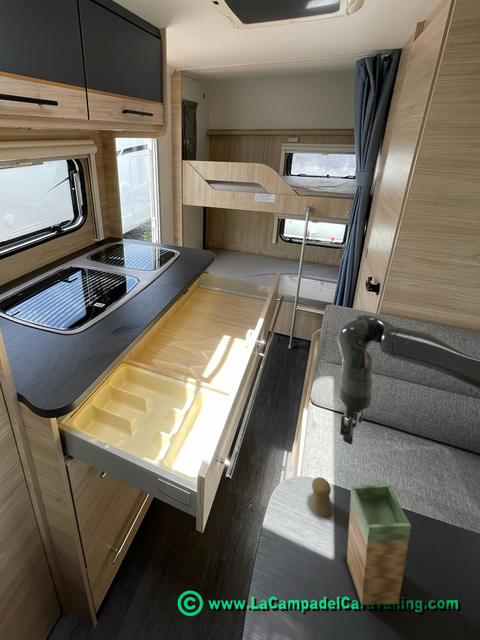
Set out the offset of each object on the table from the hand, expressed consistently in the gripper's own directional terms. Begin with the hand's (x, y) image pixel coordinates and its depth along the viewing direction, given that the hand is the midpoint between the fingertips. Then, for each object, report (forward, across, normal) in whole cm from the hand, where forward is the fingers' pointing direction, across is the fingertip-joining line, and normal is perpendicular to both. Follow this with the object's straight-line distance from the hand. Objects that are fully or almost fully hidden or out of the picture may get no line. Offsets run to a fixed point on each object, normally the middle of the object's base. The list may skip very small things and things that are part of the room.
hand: (352, 430), depth 91 cm
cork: (+29, -8, +6) cm, 30 cm away
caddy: (+29, -17, -11) cm, 35 cm away
